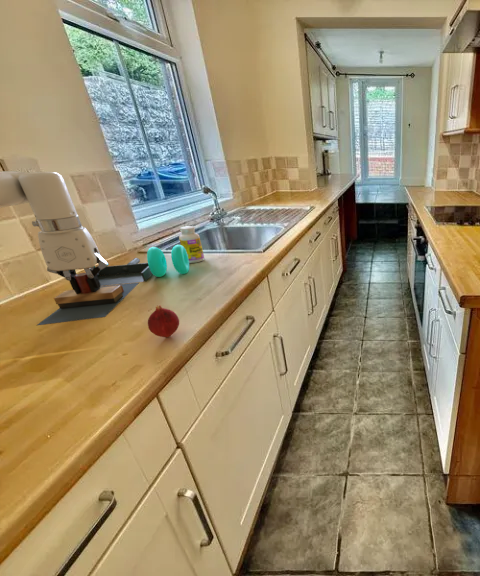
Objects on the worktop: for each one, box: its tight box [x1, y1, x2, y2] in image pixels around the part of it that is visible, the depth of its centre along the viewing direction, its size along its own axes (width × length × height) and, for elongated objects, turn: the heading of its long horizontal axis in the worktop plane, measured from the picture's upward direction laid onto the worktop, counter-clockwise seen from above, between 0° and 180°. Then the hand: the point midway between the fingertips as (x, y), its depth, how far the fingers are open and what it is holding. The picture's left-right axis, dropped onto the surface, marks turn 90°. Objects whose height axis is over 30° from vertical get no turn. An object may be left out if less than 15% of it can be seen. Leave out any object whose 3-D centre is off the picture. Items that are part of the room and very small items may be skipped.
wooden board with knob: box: [53, 272, 123, 309], centre depth 86 cm, size 13×5×8 cm, turn 106°
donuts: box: [146, 244, 190, 278], centre depth 106 cm, size 10×10×10 cm
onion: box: [147, 304, 180, 338], centre depth 71 cm, size 6×6×8 cm
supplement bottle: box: [178, 225, 205, 264], centre depth 119 cm, size 7×7×13 cm
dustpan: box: [97, 257, 153, 286], centre depth 108 cm, size 20×17×3 cm
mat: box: [36, 282, 141, 326], centre depth 89 cm, size 14×24×1 cm, turn 17°
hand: (88, 290), depth 87 cm, fingers closed on wooden board with knob, 2 cm apart
